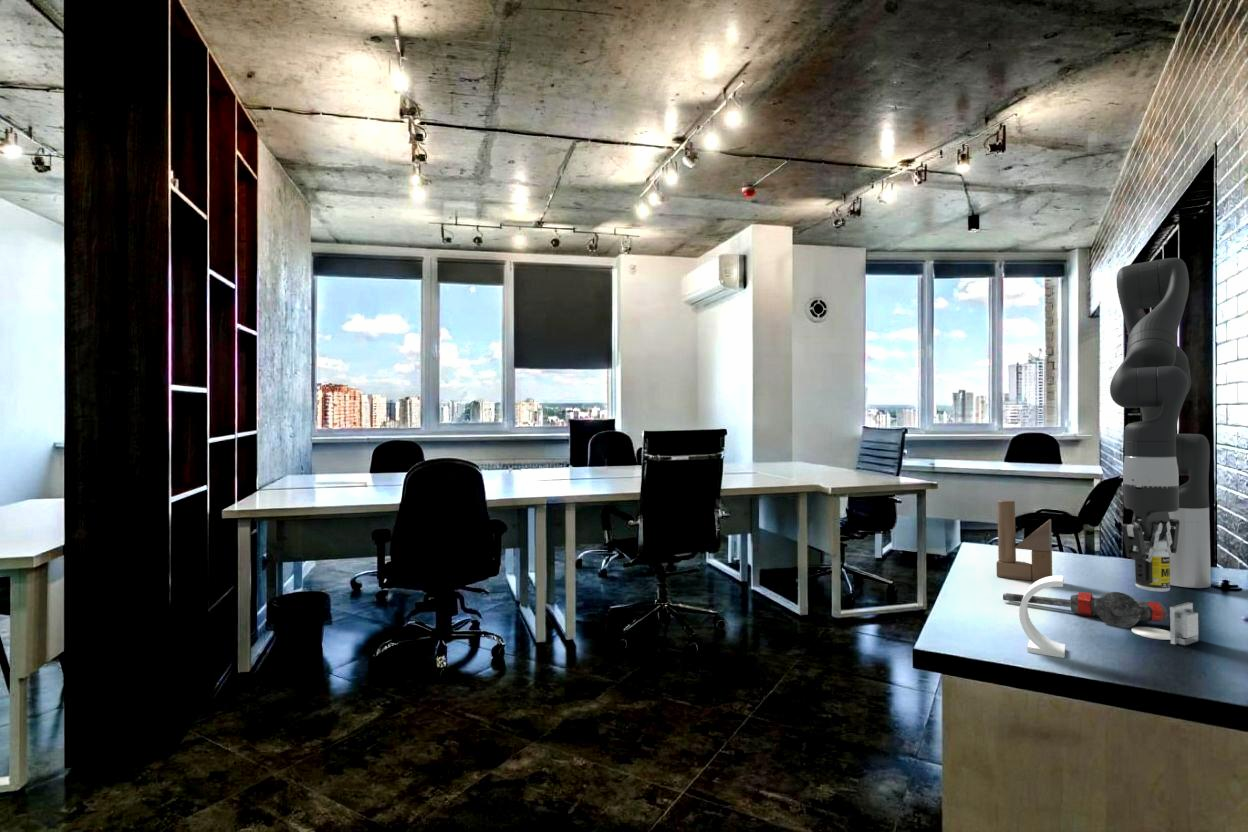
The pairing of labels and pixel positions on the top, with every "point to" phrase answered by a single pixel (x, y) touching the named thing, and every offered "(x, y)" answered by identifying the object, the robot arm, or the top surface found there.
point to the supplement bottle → (1158, 569)
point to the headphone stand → (1036, 639)
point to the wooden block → (1022, 547)
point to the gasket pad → (1152, 633)
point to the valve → (1105, 607)
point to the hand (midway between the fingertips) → (1152, 580)
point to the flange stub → (1183, 624)
